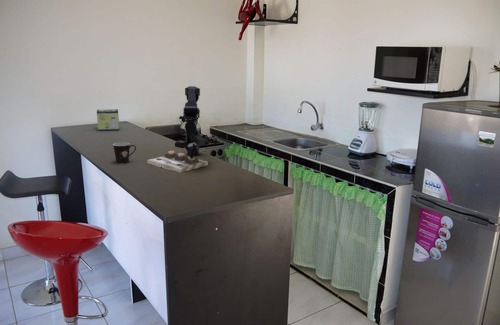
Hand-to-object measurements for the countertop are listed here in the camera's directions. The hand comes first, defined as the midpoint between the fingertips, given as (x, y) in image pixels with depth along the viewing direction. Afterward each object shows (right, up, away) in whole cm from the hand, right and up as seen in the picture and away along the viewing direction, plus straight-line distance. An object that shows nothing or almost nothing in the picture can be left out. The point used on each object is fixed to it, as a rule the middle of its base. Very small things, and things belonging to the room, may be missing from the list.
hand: (191, 158), depth 204 cm
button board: (-8, -3, +3) cm, 10 cm away
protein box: (-80, +23, +96) cm, 127 cm away
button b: (0, -2, 0) cm, 2 cm away
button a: (-13, +2, +9) cm, 16 cm away
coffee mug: (-37, -2, +5) cm, 37 cm away
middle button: (-6, +1, +5) cm, 8 cm away
